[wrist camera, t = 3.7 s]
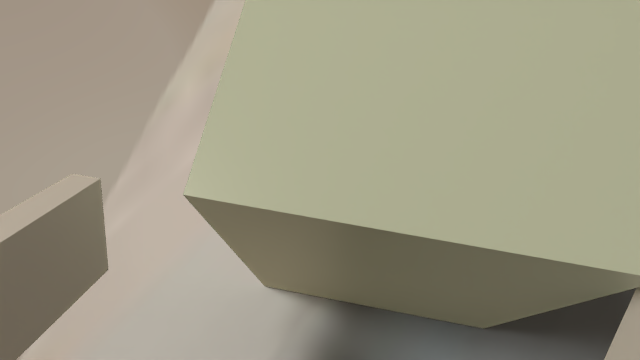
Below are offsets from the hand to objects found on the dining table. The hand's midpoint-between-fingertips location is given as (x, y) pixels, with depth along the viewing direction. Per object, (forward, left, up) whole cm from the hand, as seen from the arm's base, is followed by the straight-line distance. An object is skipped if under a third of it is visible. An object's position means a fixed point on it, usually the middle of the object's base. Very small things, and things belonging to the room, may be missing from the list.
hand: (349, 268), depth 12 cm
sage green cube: (-3, -5, -10) cm, 12 cm away
